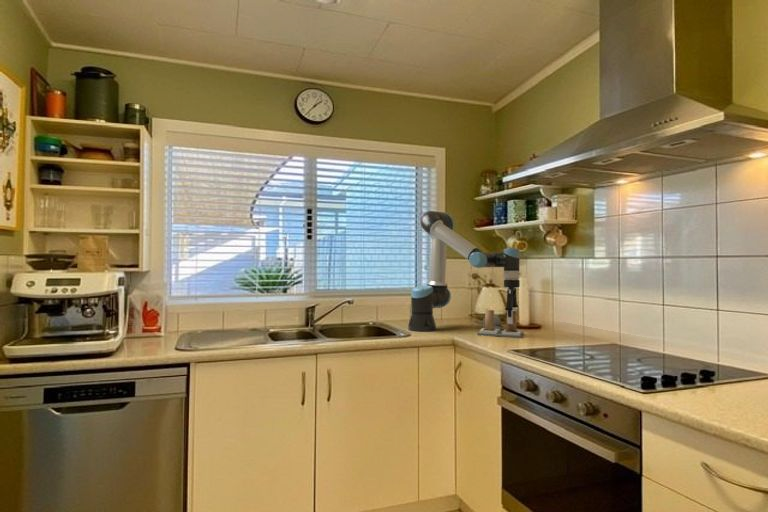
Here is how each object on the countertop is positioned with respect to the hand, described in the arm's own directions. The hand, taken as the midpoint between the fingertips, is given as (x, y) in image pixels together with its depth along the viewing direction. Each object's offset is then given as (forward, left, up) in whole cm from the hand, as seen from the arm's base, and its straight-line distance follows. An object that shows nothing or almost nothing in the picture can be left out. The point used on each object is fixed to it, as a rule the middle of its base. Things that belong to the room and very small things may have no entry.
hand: (511, 322), depth 219 cm
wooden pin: (0, 0, -6) cm, 6 cm away
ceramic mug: (-12, +18, -7) cm, 23 cm away
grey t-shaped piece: (-6, 0, -7) cm, 9 cm away
